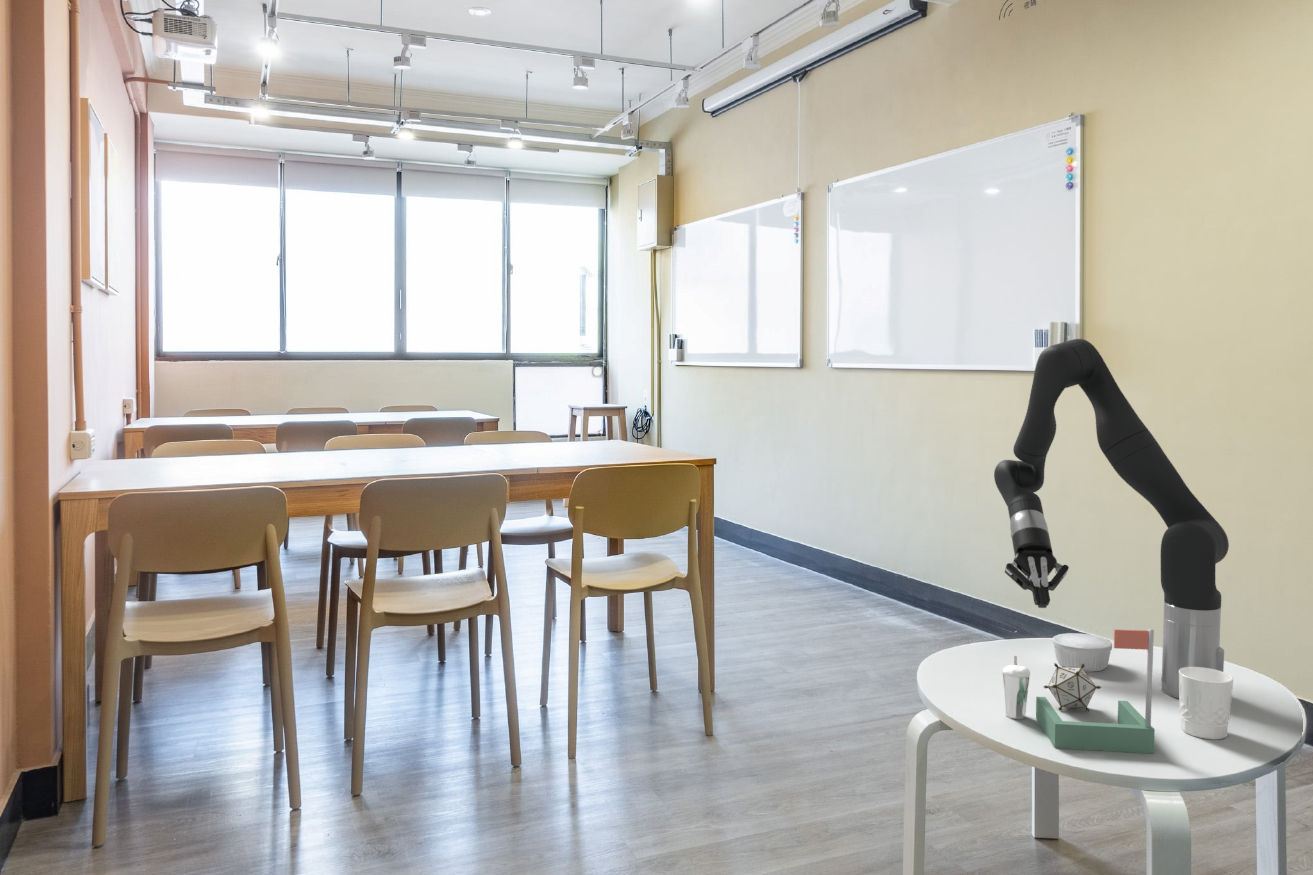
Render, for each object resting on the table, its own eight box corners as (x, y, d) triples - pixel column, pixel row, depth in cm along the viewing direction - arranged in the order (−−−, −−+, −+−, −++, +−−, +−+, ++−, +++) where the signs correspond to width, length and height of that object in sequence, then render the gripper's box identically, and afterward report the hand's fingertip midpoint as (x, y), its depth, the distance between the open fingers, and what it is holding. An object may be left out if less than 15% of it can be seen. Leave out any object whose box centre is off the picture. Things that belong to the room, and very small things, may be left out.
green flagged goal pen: (1126, 723, 156) (1130, 610, 155) (1153, 753, 144) (1157, 631, 142) (1035, 718, 159) (1038, 607, 157) (1054, 747, 146) (1057, 627, 145)
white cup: (1231, 745, 147) (1233, 685, 146) (1175, 735, 151) (1177, 677, 150) (1230, 728, 153) (1233, 671, 153) (1177, 719, 158) (1179, 663, 157)
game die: (1074, 724, 165) (1098, 677, 167) (1091, 725, 157) (1116, 676, 159) (1028, 697, 167) (1053, 651, 169) (1043, 696, 159) (1069, 648, 161)
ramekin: (1042, 664, 188) (1043, 640, 187) (1065, 653, 195) (1066, 629, 195) (1098, 678, 179) (1099, 652, 179) (1119, 665, 187) (1120, 640, 187)
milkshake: (1028, 711, 162) (1029, 656, 161) (1030, 722, 157) (1031, 666, 156) (1001, 708, 164) (1002, 654, 163) (1002, 719, 159) (1003, 663, 158)
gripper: (1000, 525, 193) (1012, 595, 181) (1066, 526, 190) (1081, 597, 179) (995, 544, 198) (1006, 614, 187) (1058, 546, 196) (1073, 616, 185)
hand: (1043, 605), depth 183 cm, fingers closed
